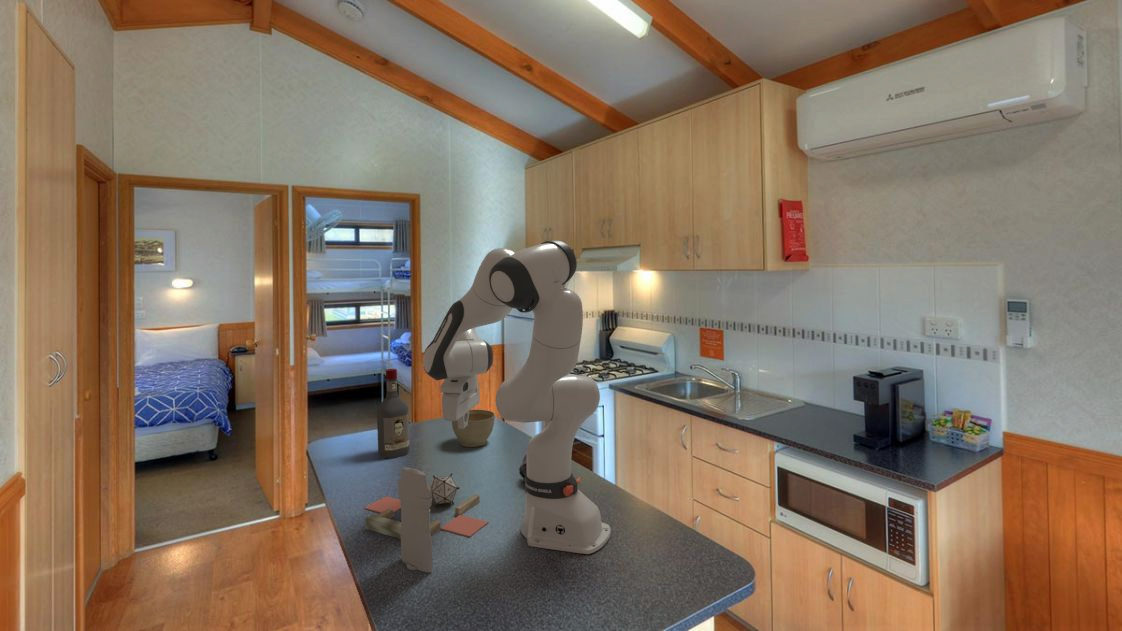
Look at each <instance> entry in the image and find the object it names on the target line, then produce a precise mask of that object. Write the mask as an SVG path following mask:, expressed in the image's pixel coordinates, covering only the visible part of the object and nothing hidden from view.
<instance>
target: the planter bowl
mask: <svg viewBox="0 0 1122 631" xmlns="http://www.w3.org/2000/svg"><path fill="white" fill-rule="evenodd" d="M495 417H496V413H495V412H493V411H492V410H487V409H471V410H470V411H469V417H468V425H467V426H466V427H465V428H464V429H459V428H458V421H457V420H456V421H451V426H452V430H453V433H454V435H455V436H456V439H458V440H459V442H460V445H461V446H462V447H466V448H477V447H481V446H484V445H486V444H487V443H488V442H487V441H488V439H489V437H491V434H492V432H493V430H494V425H495Z"/></svg>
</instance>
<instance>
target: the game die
mask: <svg viewBox="0 0 1122 631" xmlns="http://www.w3.org/2000/svg"><path fill="white" fill-rule="evenodd" d="M452 476H453V473H452V472H451V473H450V474H449V475H445V476H437V477H435V474H434V475H432V478H433V481H432V484H431V485H432V486H431V493H432V500H433V501H434V503H435V504H434V508H436V507H437V506H438V505H440V504H441V505H442V504H449V503H451V504H452V505H455V502H454V499H455V496H456V493H457V490H460V489H461V488H460V487H458V486H457V485H456V483H455V481H454V479H453V477H452Z"/></svg>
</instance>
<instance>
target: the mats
mask: <svg viewBox="0 0 1122 631" xmlns="http://www.w3.org/2000/svg"><path fill="white" fill-rule="evenodd" d="M400 501H401V500H400V498H394V497H391V496H386V495H385V496H383V497H382V498H380V499H378V500H376V501H374V502H372V503H370V504H369V505H367V506H365V507H364V508H363V509H364V510H368V511H371V512H375V513H378V514H380V513H382V512H383V511H385V510H387V509H389V508H390V509H393V514H394V512H395V513H396V512H398V511H400V510H401V503H400ZM399 509H400V510H399ZM488 524H489V521H486V520H482V519H478V518H474V517H471V516H467V515H463V514H462V515H459V516H458V515H456V517H455V518H453V519H451V520H450V521H449V522H448V523H446V524H445V525H443V526H442V527H440V530H441V531H445V532H448V533H452V534H456V535H459V536H464V537H467V538H471V537H472V536H474V535H475V534H476V533H477V532H479V531H480V530H481V529H482V528H484V527H485V526H486V525H488Z"/></svg>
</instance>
